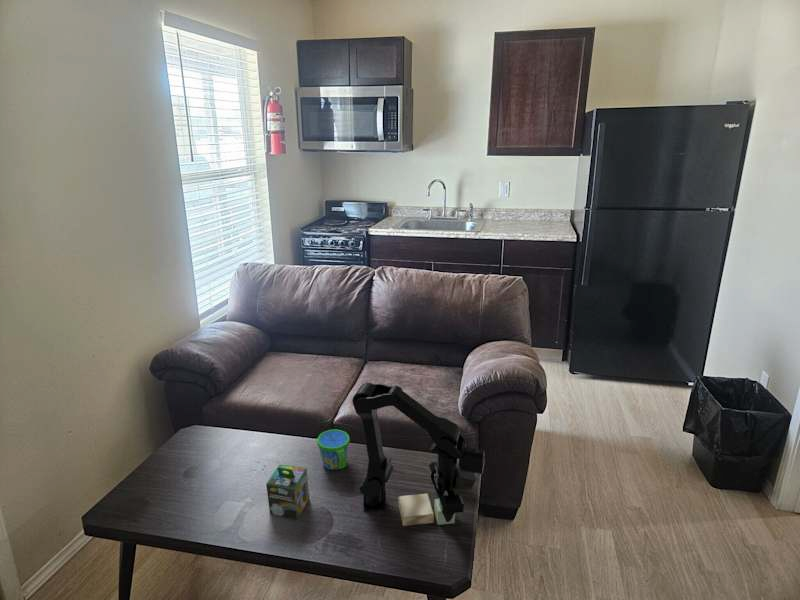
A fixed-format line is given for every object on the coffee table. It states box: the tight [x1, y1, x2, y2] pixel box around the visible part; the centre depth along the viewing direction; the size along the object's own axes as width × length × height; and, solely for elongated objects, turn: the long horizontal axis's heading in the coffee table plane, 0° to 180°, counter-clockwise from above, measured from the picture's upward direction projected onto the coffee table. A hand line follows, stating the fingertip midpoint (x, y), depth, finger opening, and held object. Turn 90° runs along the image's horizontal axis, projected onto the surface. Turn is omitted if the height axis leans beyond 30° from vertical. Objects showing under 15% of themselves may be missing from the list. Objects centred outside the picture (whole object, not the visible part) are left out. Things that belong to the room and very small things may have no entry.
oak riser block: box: [397, 493, 435, 527], centre depth 152 cm, size 9×9×3 cm
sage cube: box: [433, 498, 456, 526], centre depth 150 cm, size 5×5×5 cm
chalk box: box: [265, 464, 310, 520], centre depth 152 cm, size 9×9×15 cm
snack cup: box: [316, 428, 351, 471], centre depth 171 cm, size 16×10×10 cm
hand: (444, 509), depth 150 cm, fingers open, 9 cm apart
